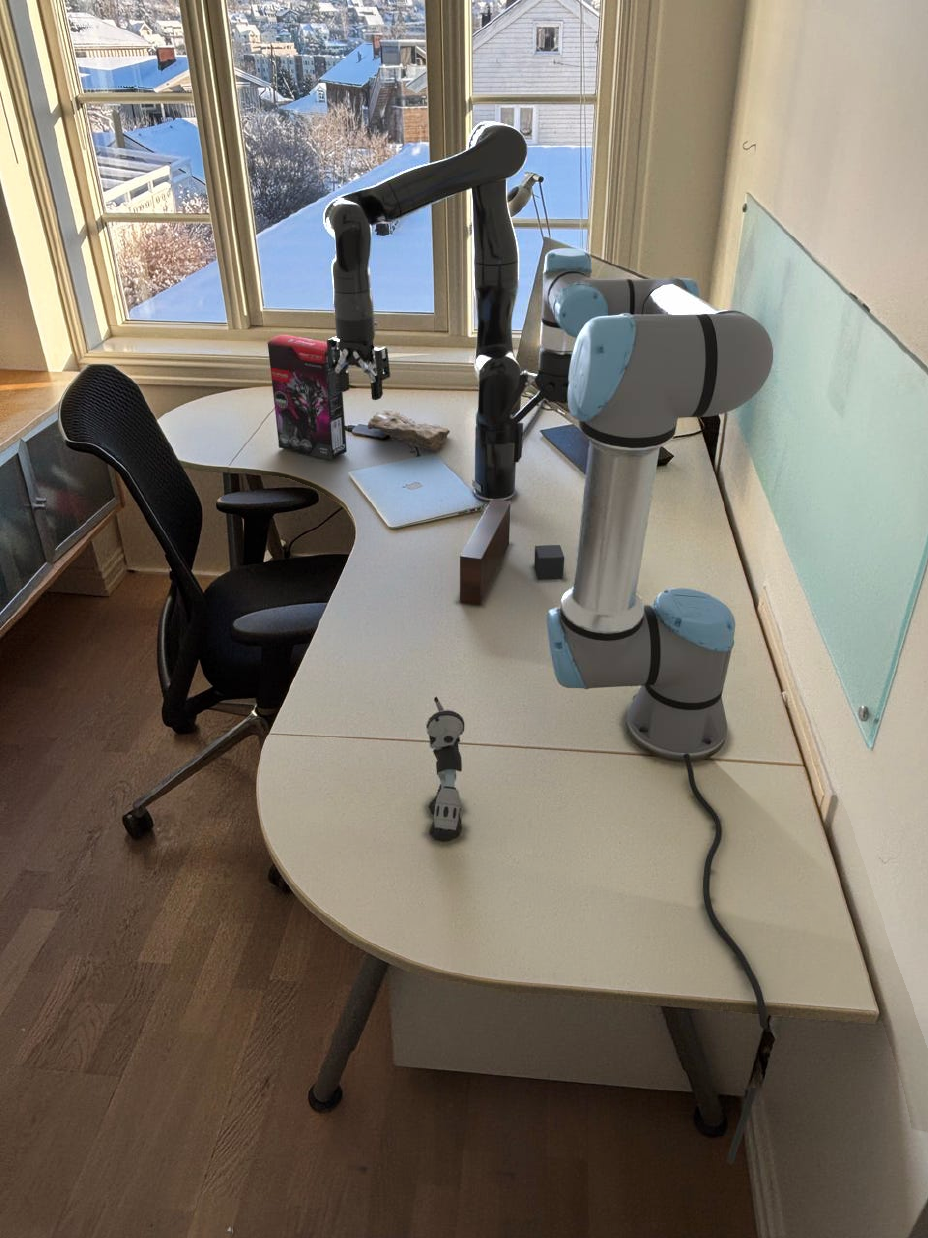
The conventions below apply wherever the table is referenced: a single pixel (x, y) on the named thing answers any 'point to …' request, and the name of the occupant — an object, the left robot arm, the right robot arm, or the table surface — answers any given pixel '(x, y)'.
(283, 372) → the graphics card box
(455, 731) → the robot
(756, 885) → the table surface
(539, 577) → the grey block
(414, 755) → the table surface
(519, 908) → the table surface
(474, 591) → the beam
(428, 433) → the stone
